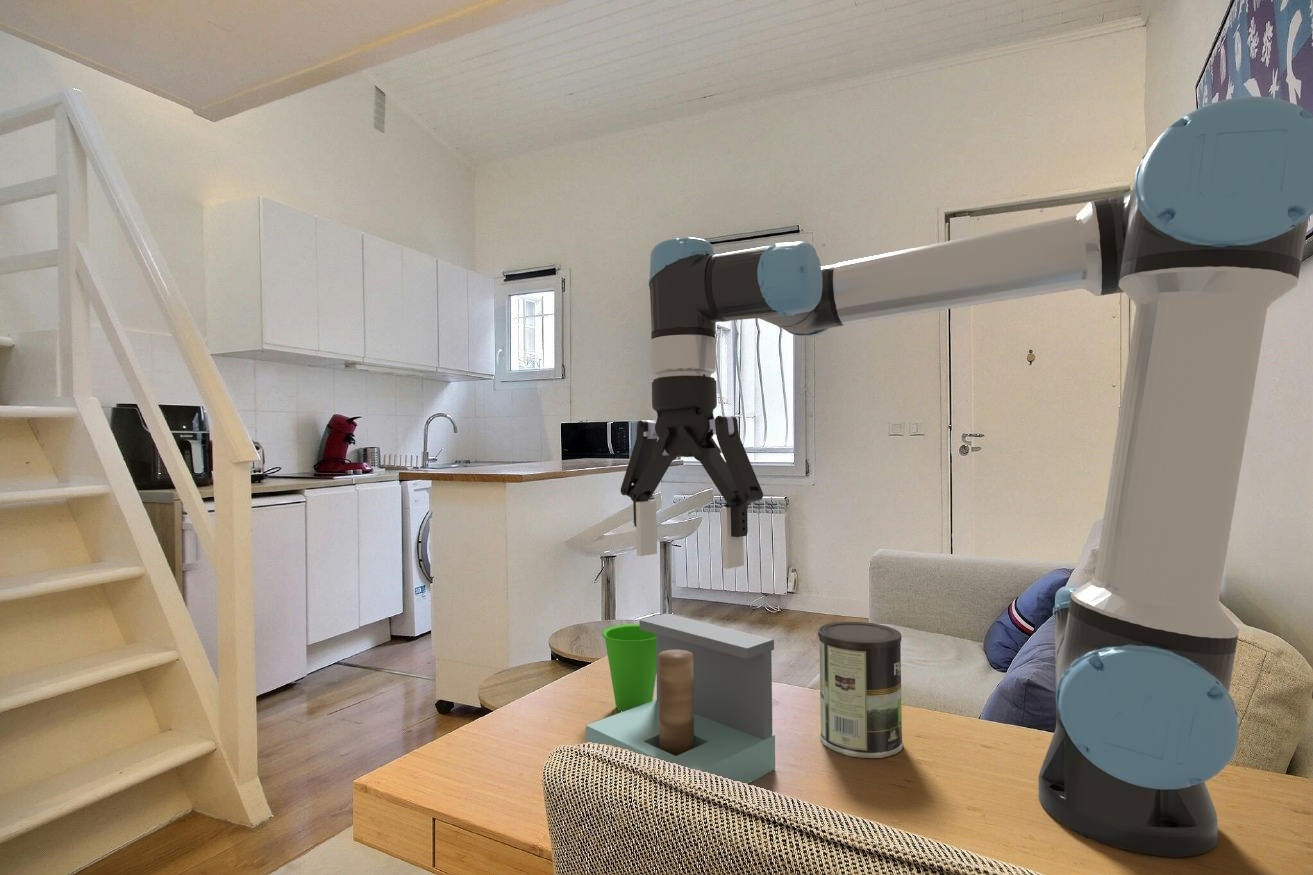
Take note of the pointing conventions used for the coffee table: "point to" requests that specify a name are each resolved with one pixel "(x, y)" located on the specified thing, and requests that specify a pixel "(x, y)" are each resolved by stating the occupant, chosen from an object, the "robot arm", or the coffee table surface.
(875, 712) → the coffee can
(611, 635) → the cup
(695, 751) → the socket station
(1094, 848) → the coffee table surface
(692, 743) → the peg
